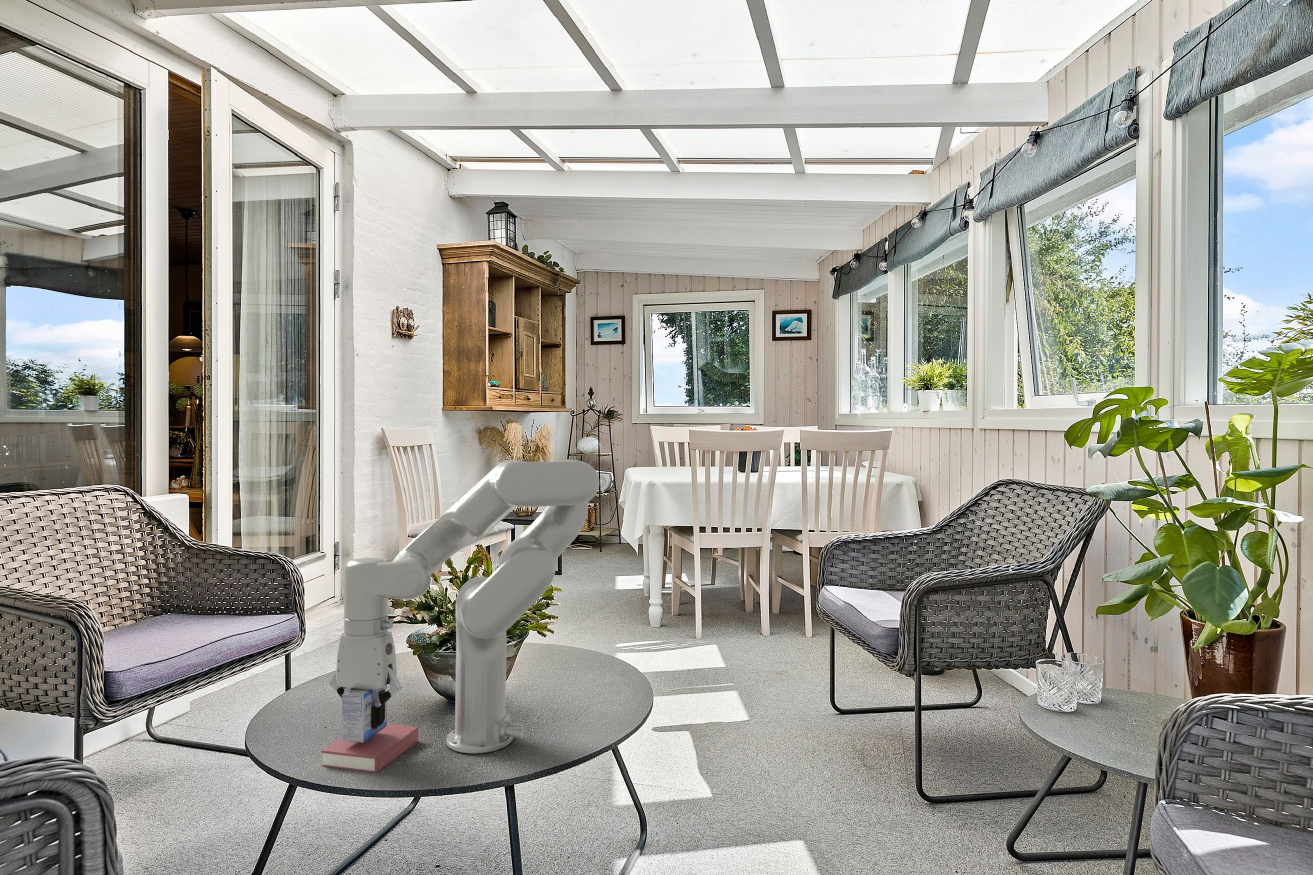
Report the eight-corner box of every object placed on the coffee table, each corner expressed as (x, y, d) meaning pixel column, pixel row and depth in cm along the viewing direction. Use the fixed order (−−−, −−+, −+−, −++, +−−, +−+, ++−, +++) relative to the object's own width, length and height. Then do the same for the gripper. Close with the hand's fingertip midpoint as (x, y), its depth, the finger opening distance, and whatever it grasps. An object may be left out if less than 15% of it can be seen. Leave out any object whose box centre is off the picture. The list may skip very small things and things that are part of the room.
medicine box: (363, 743, 135) (363, 695, 135) (340, 741, 136) (341, 693, 136) (387, 726, 142) (387, 681, 142) (366, 724, 143) (366, 679, 143)
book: (418, 742, 145) (418, 726, 145) (376, 773, 132) (376, 756, 132) (367, 736, 148) (367, 721, 148) (321, 767, 134) (321, 750, 134)
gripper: (418, 623, 141) (417, 721, 141) (338, 618, 145) (337, 713, 145) (396, 634, 134) (395, 736, 134) (312, 628, 137) (311, 728, 137)
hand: (365, 723), depth 139 cm, fingers closed on medicine box, 4 cm apart
